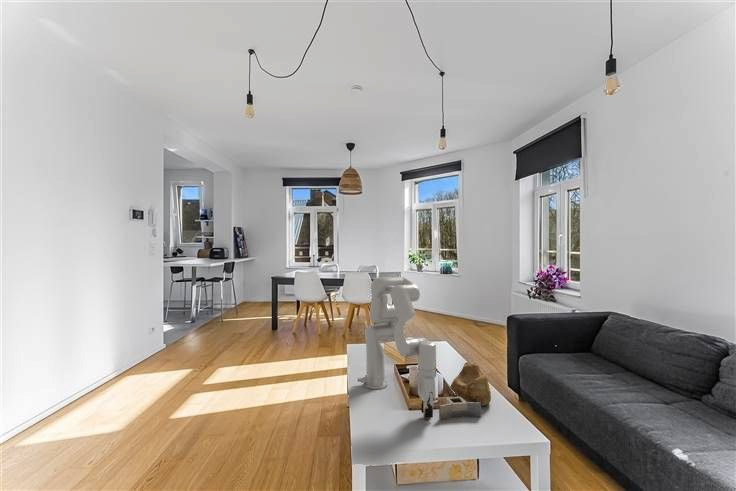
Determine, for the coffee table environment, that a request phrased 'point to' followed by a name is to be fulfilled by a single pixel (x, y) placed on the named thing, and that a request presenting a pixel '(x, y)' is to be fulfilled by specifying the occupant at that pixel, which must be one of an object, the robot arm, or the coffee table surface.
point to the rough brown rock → (472, 385)
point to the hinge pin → (424, 410)
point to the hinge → (459, 409)
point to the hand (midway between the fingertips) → (427, 414)
